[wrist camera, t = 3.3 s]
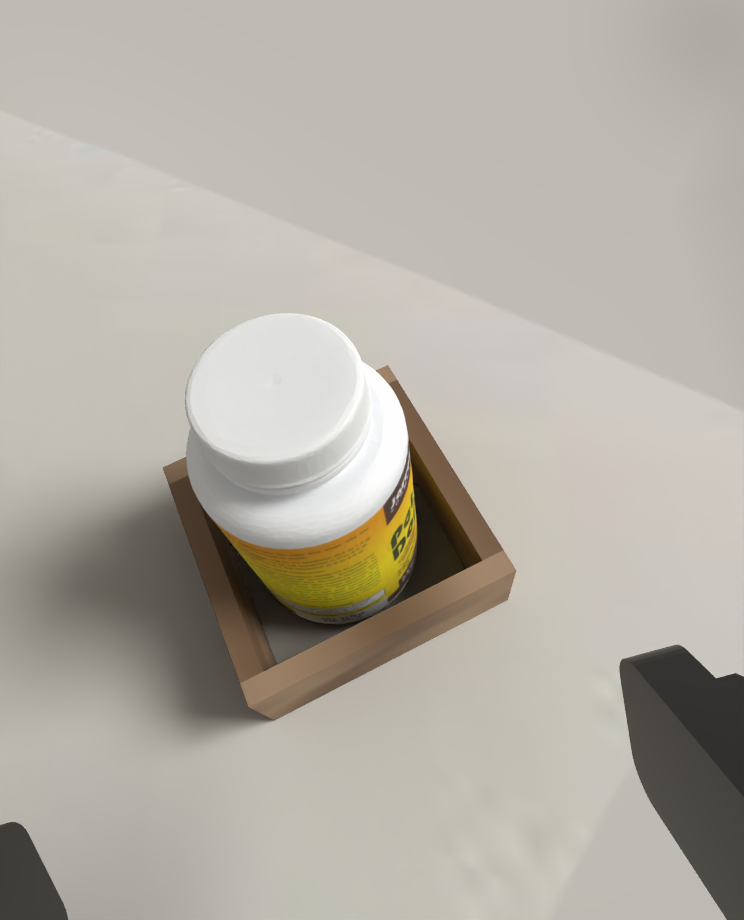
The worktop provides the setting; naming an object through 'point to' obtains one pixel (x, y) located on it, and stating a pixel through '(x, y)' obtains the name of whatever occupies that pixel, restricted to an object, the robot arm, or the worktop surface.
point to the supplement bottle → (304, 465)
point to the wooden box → (374, 637)
